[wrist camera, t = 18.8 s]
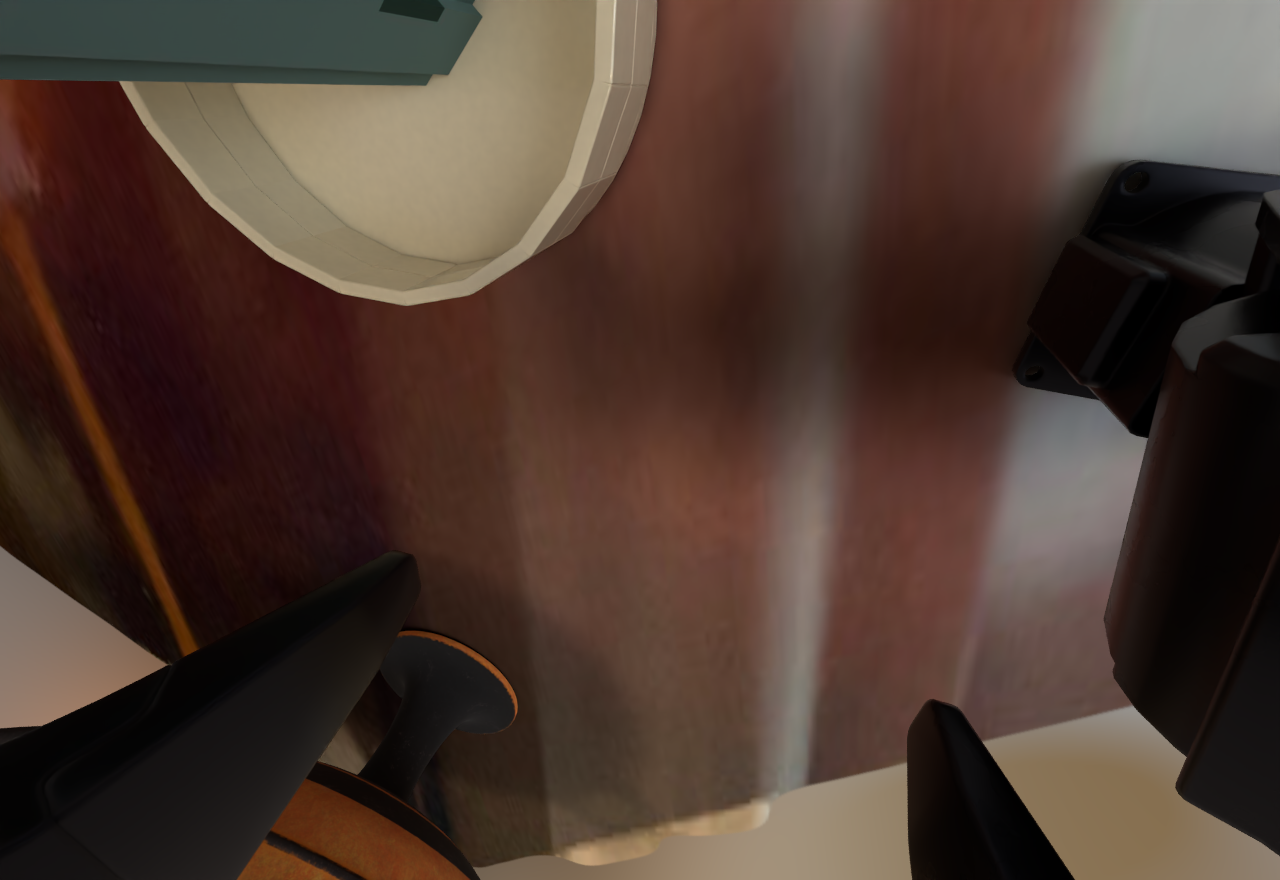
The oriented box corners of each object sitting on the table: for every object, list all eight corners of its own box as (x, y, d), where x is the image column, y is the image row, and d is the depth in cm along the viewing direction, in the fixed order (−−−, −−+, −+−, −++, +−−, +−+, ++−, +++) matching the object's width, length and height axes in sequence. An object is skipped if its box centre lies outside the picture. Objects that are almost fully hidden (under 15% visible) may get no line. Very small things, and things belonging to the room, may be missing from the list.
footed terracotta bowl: (762, 792, 35) (726, 1279, 21) (536, 839, 49) (420, 1152, 34) (294, 396, 27) (-281, 734, 13) (182, 585, 41) (-157, 850, 27)
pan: (695, -446, 11) (647, -664, 8) (634, 303, 20) (599, 344, 17) (85, -405, 14) (-134, -554, 11) (267, 238, 23) (176, 262, 20)
